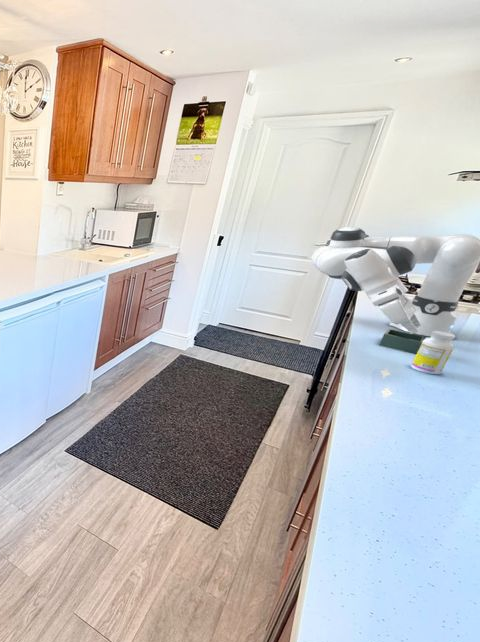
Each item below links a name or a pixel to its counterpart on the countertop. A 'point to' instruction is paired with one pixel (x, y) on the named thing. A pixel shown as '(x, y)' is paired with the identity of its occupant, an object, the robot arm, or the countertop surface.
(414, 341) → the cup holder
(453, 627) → the countertop surface
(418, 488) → the countertop surface
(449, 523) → the countertop surface
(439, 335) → the supplement bottle
